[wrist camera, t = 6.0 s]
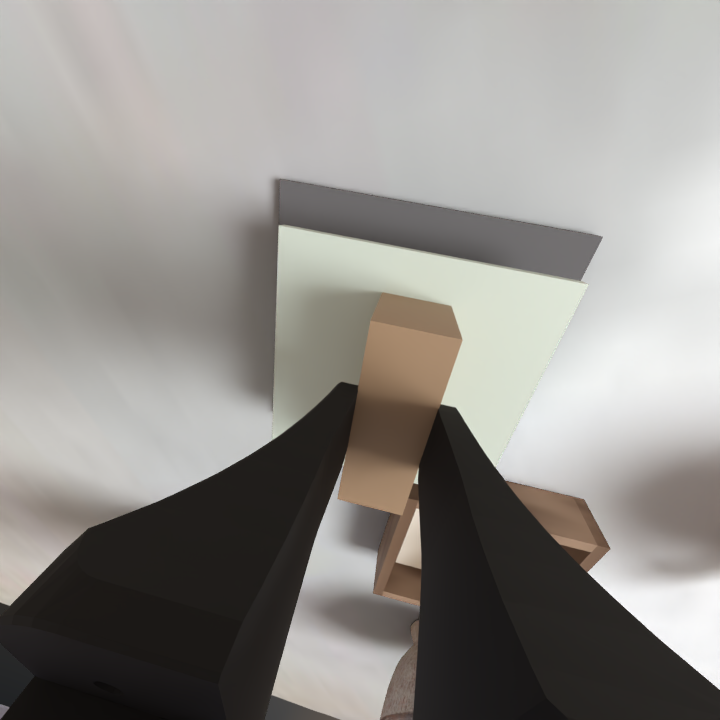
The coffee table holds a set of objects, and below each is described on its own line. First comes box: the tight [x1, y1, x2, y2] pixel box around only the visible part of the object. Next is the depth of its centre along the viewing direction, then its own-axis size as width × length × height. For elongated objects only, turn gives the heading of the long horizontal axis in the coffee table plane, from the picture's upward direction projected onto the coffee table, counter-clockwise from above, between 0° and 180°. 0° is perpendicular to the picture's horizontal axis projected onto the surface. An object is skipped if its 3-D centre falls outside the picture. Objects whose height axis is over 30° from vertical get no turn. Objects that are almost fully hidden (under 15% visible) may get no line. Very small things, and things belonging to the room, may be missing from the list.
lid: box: [272, 225, 589, 515], centre depth 11 cm, size 10×10×4 cm
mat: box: [279, 179, 603, 281], centre depth 15 cm, size 12×12×1 cm
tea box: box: [373, 481, 610, 606], centre depth 19 cm, size 10×10×3 cm
